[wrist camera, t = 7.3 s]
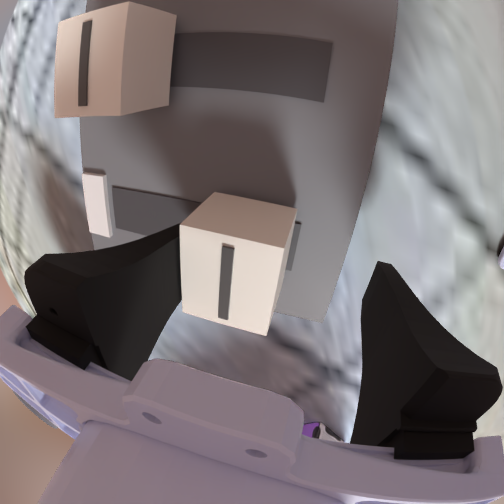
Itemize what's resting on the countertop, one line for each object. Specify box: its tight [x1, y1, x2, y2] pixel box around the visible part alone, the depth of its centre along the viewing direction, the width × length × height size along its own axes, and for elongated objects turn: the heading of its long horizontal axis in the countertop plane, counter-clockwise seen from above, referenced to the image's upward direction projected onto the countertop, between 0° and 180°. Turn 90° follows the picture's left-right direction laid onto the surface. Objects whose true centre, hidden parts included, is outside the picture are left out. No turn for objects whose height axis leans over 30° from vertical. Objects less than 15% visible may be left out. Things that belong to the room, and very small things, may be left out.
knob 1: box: [54, 1, 177, 118], centre depth 9 cm, size 4×4×3 cm
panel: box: [80, 0, 398, 323], centre depth 11 cm, size 14×23×2 cm, turn 174°
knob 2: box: [180, 192, 297, 336], centre depth 12 cm, size 4×4×3 cm
